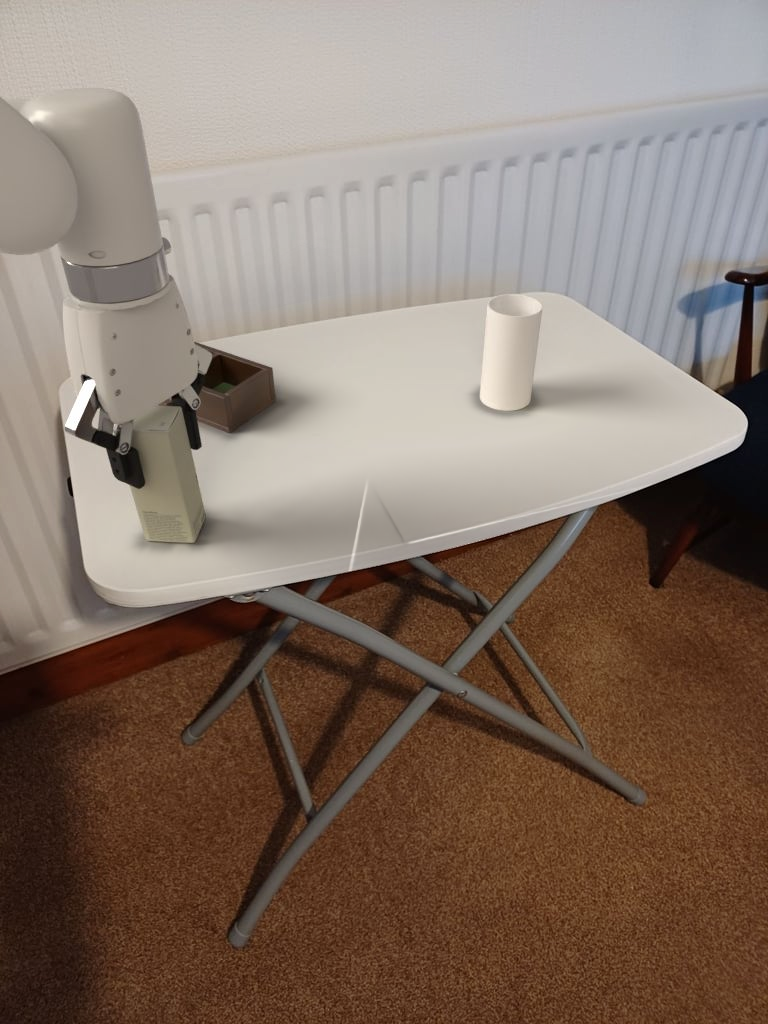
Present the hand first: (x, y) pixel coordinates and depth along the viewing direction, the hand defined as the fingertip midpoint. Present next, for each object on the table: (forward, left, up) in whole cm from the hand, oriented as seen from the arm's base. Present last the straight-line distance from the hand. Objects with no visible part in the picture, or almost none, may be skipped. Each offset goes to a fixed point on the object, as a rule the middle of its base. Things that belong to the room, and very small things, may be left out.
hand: (159, 461), depth 71 cm
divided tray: (+20, +15, -8) cm, 26 cm away
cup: (+40, -16, -8) cm, 44 cm away
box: (0, 0, -8) cm, 8 cm away
